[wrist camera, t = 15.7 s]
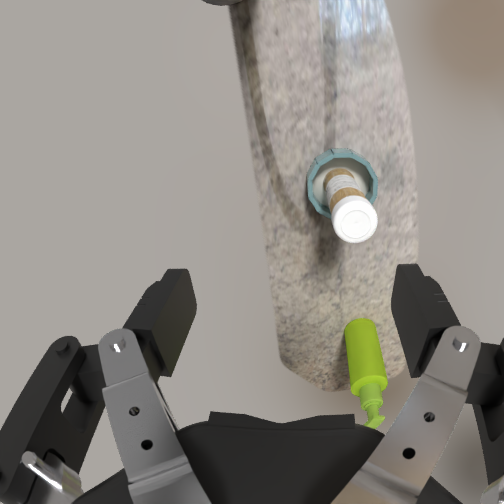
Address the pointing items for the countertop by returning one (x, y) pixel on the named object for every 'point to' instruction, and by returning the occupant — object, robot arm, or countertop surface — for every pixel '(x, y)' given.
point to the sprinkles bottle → (349, 207)
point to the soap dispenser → (366, 367)
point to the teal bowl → (345, 161)
